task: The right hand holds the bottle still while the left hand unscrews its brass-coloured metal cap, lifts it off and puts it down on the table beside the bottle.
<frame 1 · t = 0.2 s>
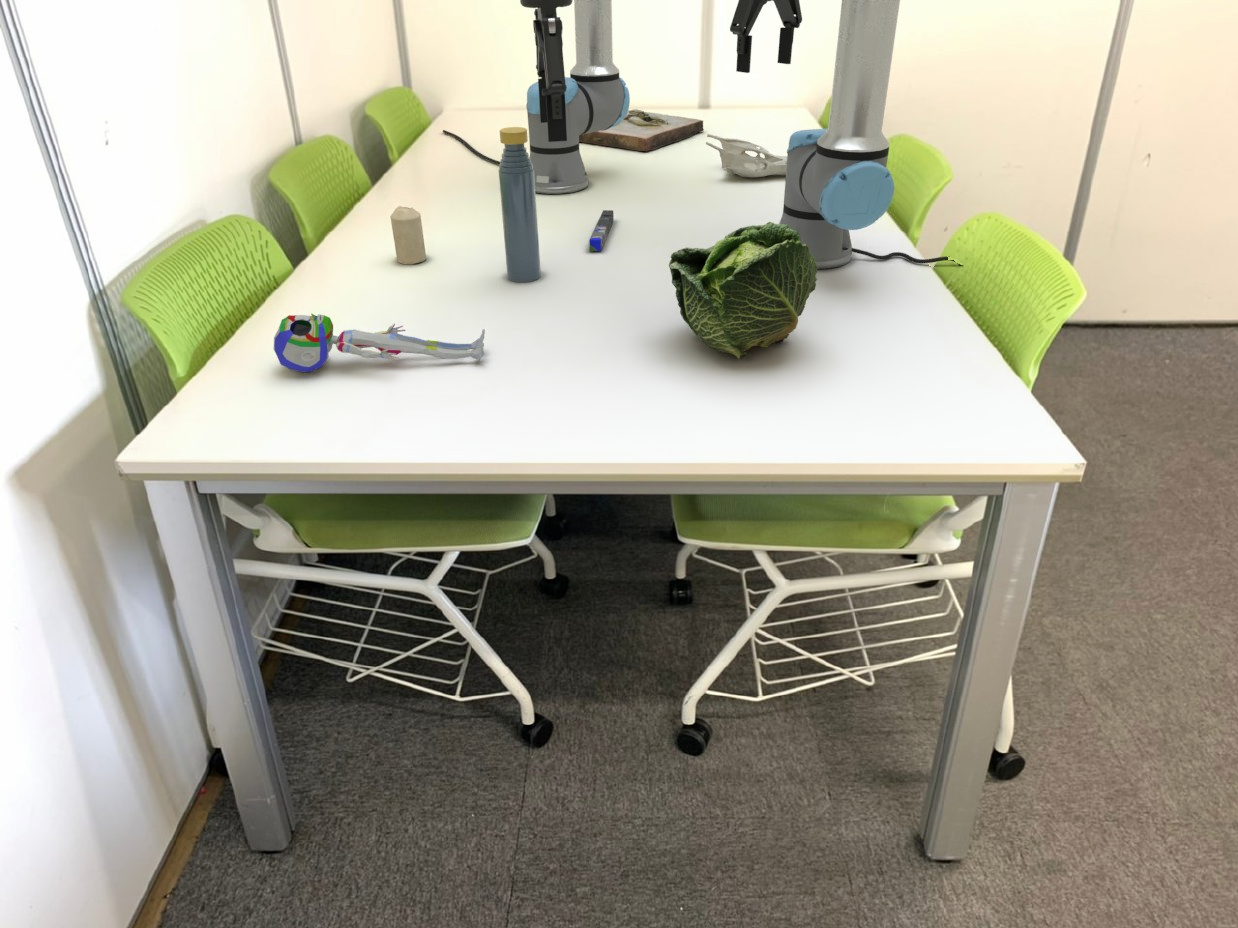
left hand: (763, 68, 178), 29 cm above the table, tool pointing down, fingers open, 13 cm apart
right hand: (553, 131, 139), 28 cm above the table, tool pointing down, fingers open, 13 cm apart
toy: (384, 363, 134), on the table
pillar: (602, 236, 183), on the table
cap: (513, 131, 150), point 25 cm above the table, screwed on, not yet turned
plaque: (633, 136, 259), on the table
anatomical model: (755, 175, 221), on the table
vegetable: (740, 344, 138), on the table
bottle: (524, 276, 164), on the table
candle: (411, 260, 172), on the table
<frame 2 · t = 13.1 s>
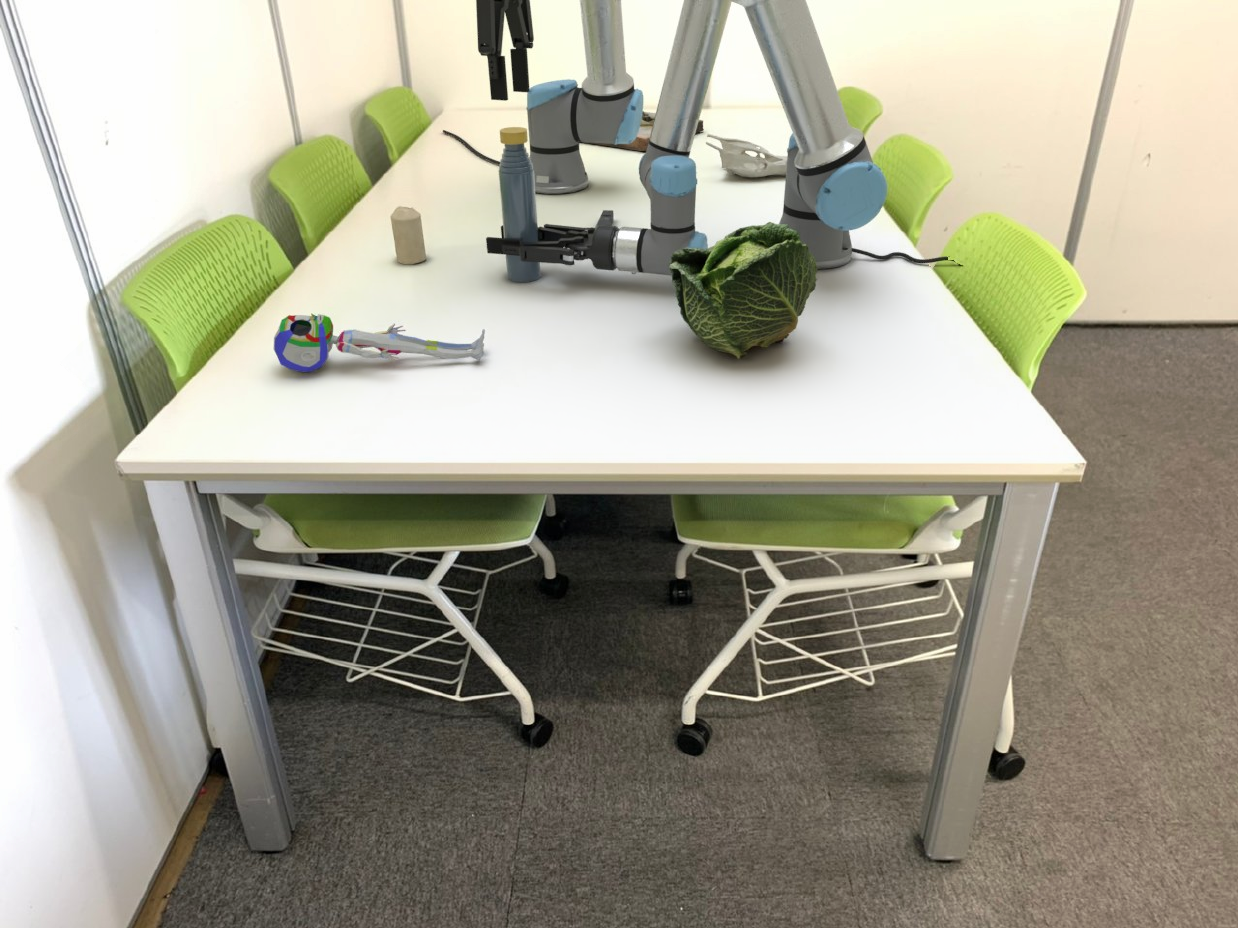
left hand: (510, 95, 147), 31 cm above the table, tool pointing down, fingers open, 7 cm apart
right hand: (495, 239, 162), 7 cm above the table, tool horizontal, fingers closed on bottle, 6 cm apart
bottle: (524, 276, 164), on the table, touching right hand
everything else where it was.
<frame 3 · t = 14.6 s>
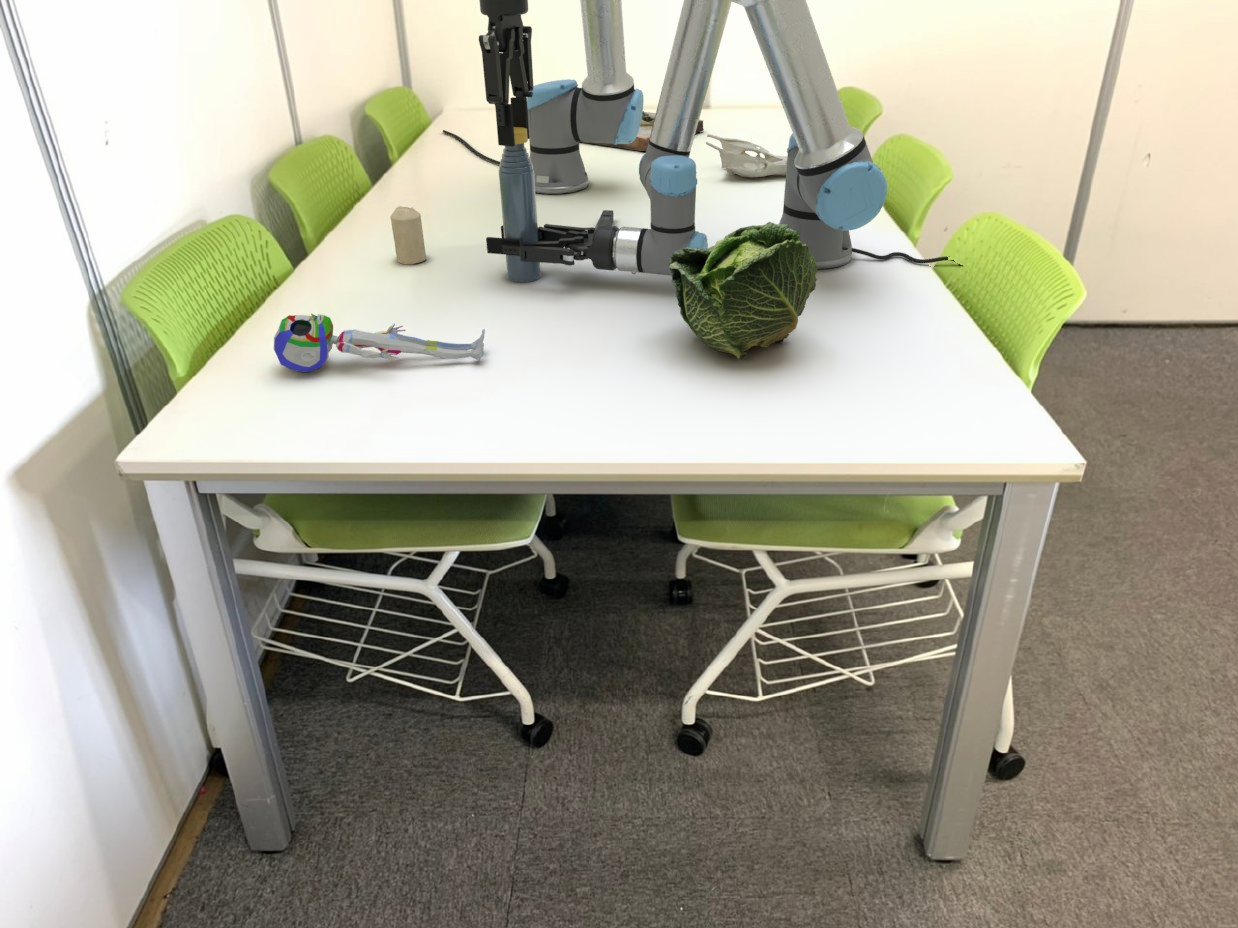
left hand: (514, 141, 151), 24 cm above the table, tool pointing down, fingers closed on cap, 4 cm apart
right hand: (495, 239, 162), 7 cm above the table, tool horizontal, fingers closed on bottle, 6 cm apart
cap: (513, 131, 150), point 25 cm above the table, screwed on, not yet turned, touching left hand
bottle: (524, 276, 164), on the table, touching right hand
everything else where it was.
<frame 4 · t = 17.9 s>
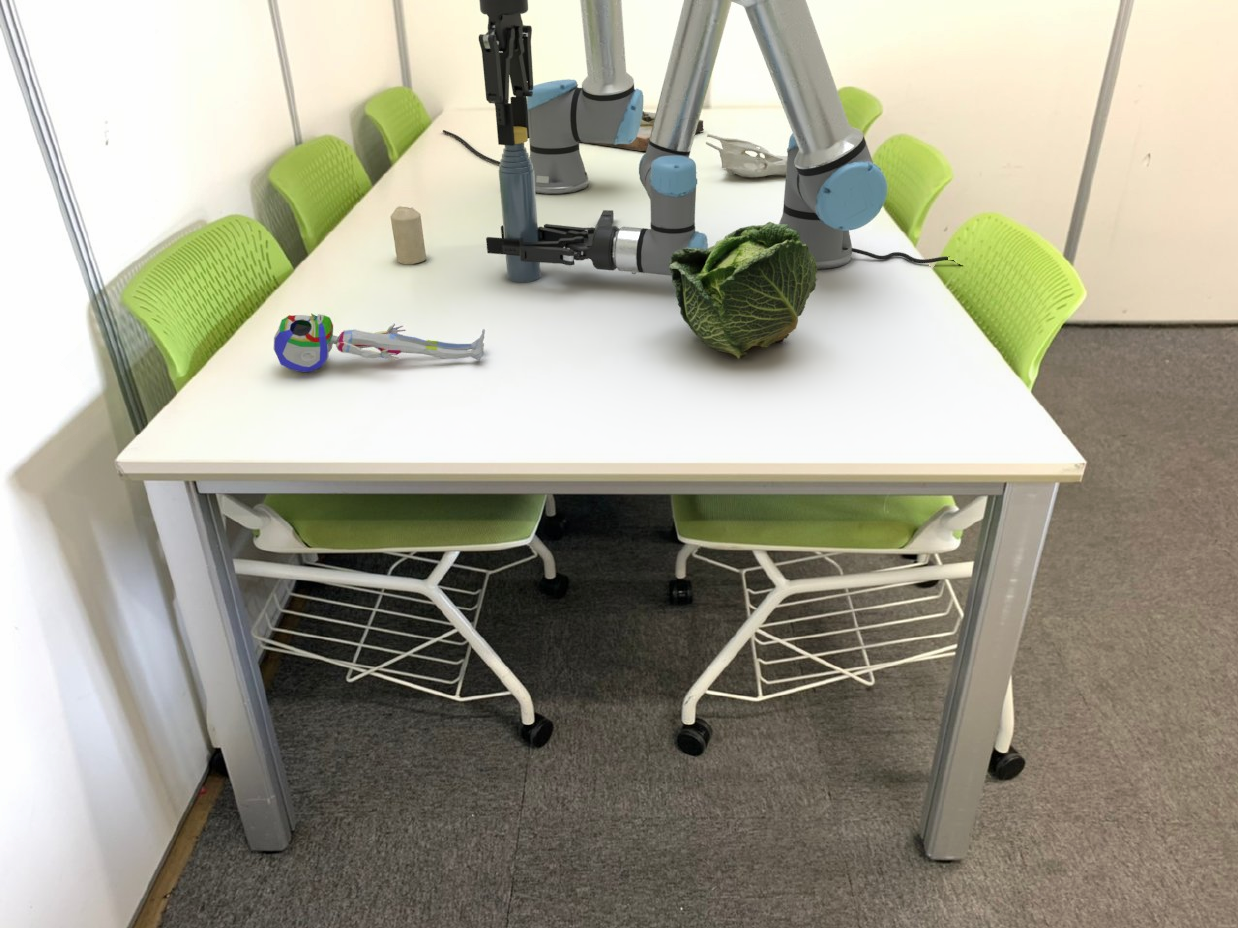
left hand: (514, 141, 151), 24 cm above the table, tool pointing down, fingers closed on cap, 4 cm apart
right hand: (495, 239, 162), 7 cm above the table, tool horizontal, fingers closed on bottle, 6 cm apart
cap: (513, 131, 150), point 25 cm above the table, turned 120° so far, risen 0.1 cm, still on its thread, touching left hand
bottle: (524, 276, 164), on the table, touching right hand
everything else where it was.
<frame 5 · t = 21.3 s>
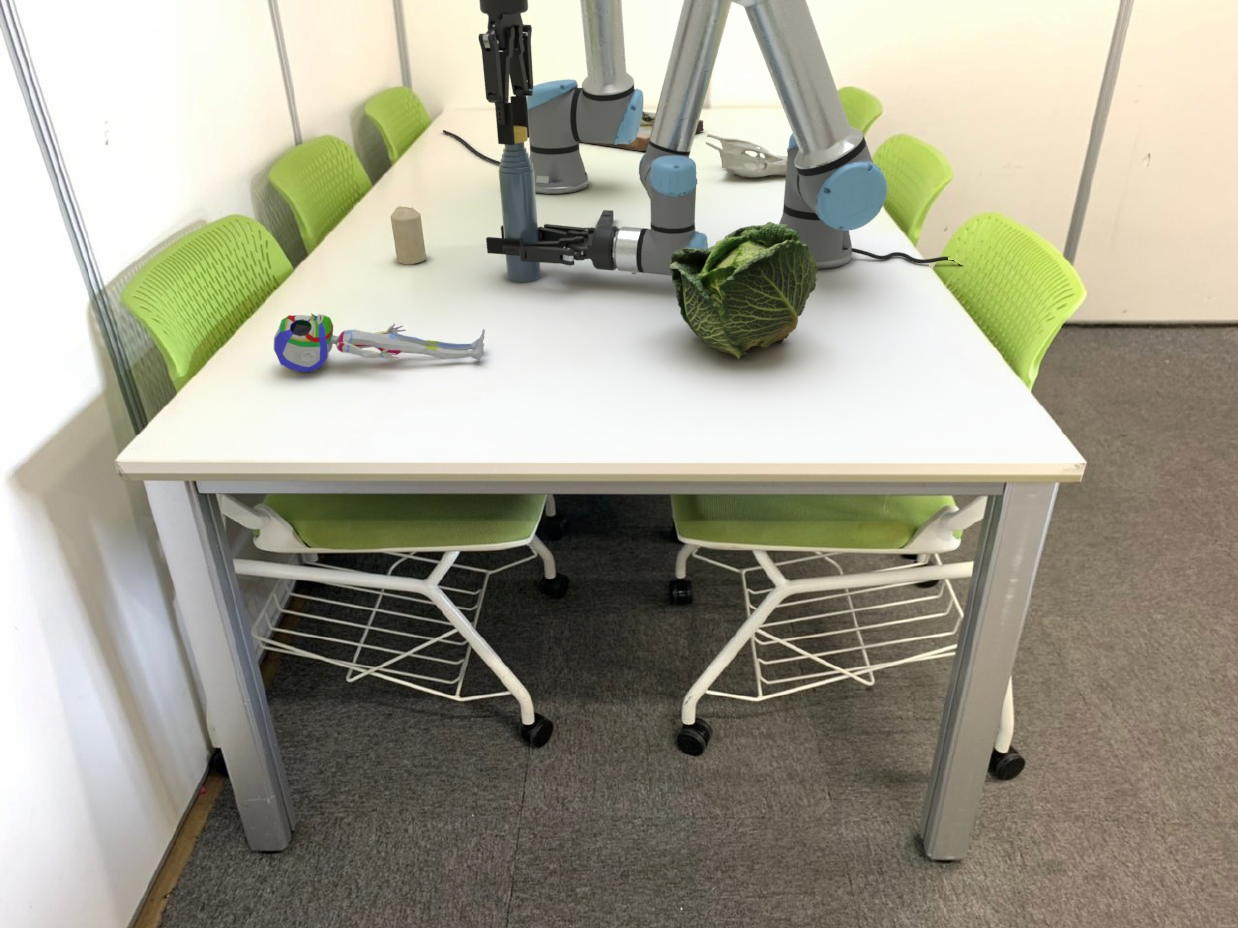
left hand: (514, 140, 151), 24 cm above the table, tool pointing down, fingers closed on cap, 4 cm apart
right hand: (495, 239, 162), 7 cm above the table, tool horizontal, fingers closed on bottle, 6 cm apart
cap: (513, 130, 150), point 26 cm above the table, turned 240° so far, risen 0.2 cm, still on its thread, touching left hand
bottle: (524, 276, 164), on the table, touching right hand
everything else where it was.
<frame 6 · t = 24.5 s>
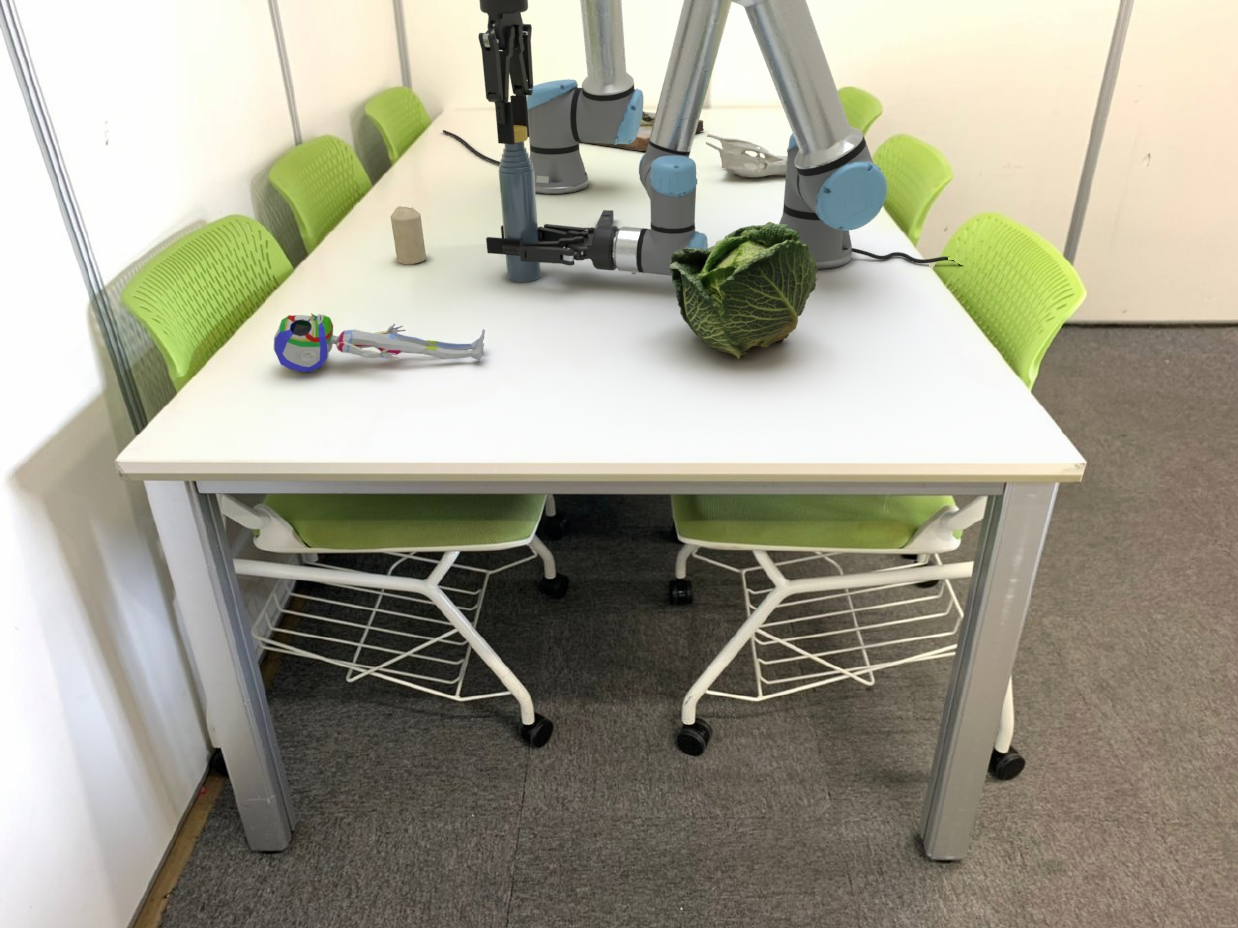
left hand: (514, 139, 151), 24 cm above the table, tool pointing down, fingers closed on cap, 4 cm apart
right hand: (495, 239, 162), 7 cm above the table, tool horizontal, fingers closed on bottle, 6 cm apart
cap: (513, 130, 150), point 26 cm above the table, turned 360° so far, risen 0.3 cm, still on its thread, touching left hand
bottle: (524, 276, 164), on the table, touching right hand
everything else where it was.
when the left hand's fingers open (1 cm above the table, at t = 31.0 s): cap drops 1 cm, point 2 cm above the table.
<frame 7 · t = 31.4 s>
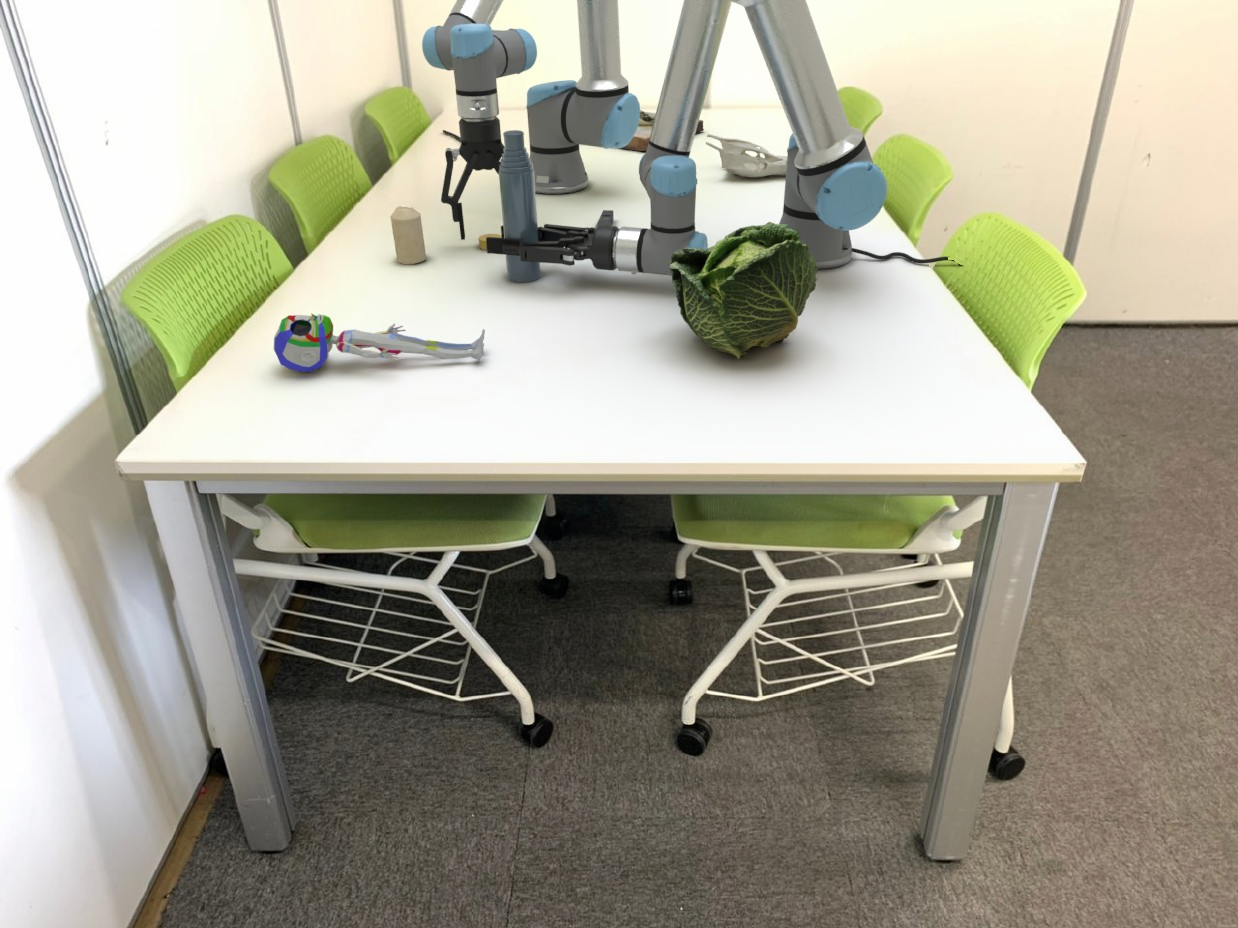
left hand: (490, 236, 177), 2 cm above the table, tool pointing down, fingers open, 10 cm apart
right hand: (495, 239, 162), 7 cm above the table, tool horizontal, fingers closed on bottle, 6 cm apart
cap: (490, 238, 177), point 2 cm above the table, off its thread
bottle: (524, 276, 164), on the table, touching right hand
everything else where it was.
when the right hand's fingers open (7 cm above the table, at t = 32.2 s): bottle stays where it is, on the table.
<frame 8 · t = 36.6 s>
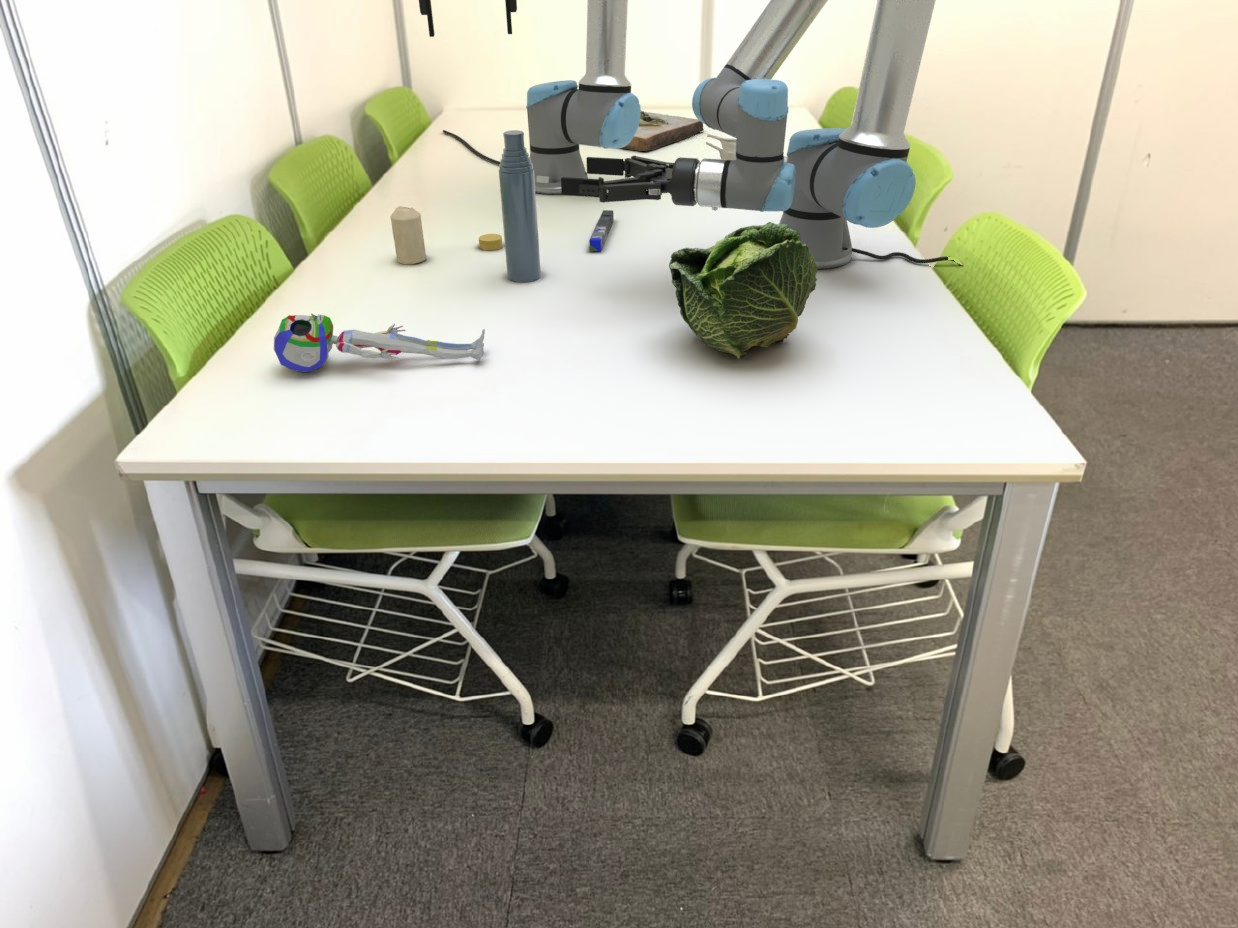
left hand: (471, 35, 158), 38 cm above the table, tool pointing down, fingers open, 13 cm apart
right hand: (574, 175, 151), 19 cm above the table, tool horizontal, fingers open, 13 cm apart
bottle: (524, 276, 164), on the table
everything else where it was.
at the end: cap came off its thread; cap point 1.6 cm above the table; the left hand is holding nothing; the right hand is holding nothing; bottle tilted 0°; bottle moved 0.0 cm from its start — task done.
